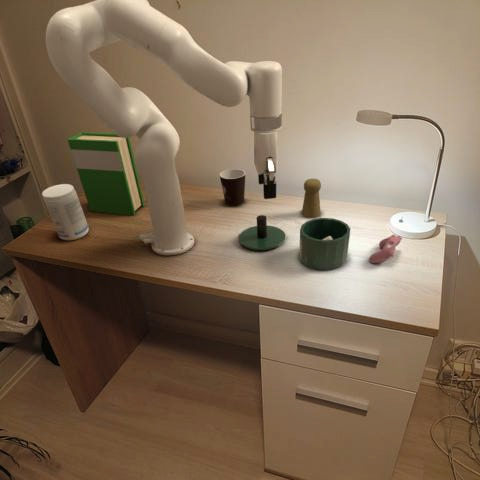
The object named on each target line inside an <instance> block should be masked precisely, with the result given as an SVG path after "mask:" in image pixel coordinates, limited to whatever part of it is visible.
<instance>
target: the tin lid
mask: <svg viewBox="0 0 480 480" xmlns="http://www.w3.org/2000/svg"><path fill="white" fill-rule="evenodd" d="M285 241H286V232H285V231H284V230H283V229H281V228H279V227H277V226H272V225H268V224H267V215H264V214H260V215H257V216H256V225H254V226H250V227H248V228H246V229H244V230H242V232H241V233H239V236H238V242H239V243H240V245H241V246H243V247H244V248H247V249H249V250H254V251H267V250H272V249H275V248H279V247H280V246H281V245H283V244H284V243H285Z"/></svg>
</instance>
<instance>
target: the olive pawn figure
mask: <svg viewBox="0 0 480 480" xmlns="http://www.w3.org/2000/svg"><path fill="white" fill-rule="evenodd" d="M321 188H322V183H321V180H320V179H317V178H307V179H306V180H305V181H304V183H303V190H304V198H303V203H302V208H301V216H302V217H304V218H306V219H317V218H320V216H321V214H322V213H321V201H320V190H321Z"/></svg>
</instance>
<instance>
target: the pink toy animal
mask: <svg viewBox="0 0 480 480" xmlns="http://www.w3.org/2000/svg"><path fill="white" fill-rule="evenodd" d="M402 240H403V237H402V236H400V235H398V234H396V233H394V234H392V235H390V236H388V237H386V238H384V239H382V240H380V241H379V242H378V246H379V247H380V248H381V250H378V251H377V252H375V253H372V254H370V256H369V258H368V259H369V260H368V261H369V262H370V263H373V264H378V263H381V262H384V261H387V260H388V259H389V258H393V257H395V254H396V253H395V251H396V247H398V246H399V244H400V243H401V241H402Z"/></svg>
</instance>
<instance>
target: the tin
mask: <svg viewBox="0 0 480 480" xmlns="http://www.w3.org/2000/svg"><path fill="white" fill-rule="evenodd" d="M350 235H351V227H350V226H349V224H348V223H346V222H344V221H343V220H340V219H337V218H332V217H316V218H311V219H309V220H307V221H305V222H304V223H303V224H301V226H300V229H299V252H298V253H299V254H298V256H299V260H300V262H301V263H302V265H304V266H306V267H307V268H310V269H313V270H317V271H332V270H335V269H339V268H341V267H343V266H344V265H345V264H346V263H347V260H348V253H349V245H350V238H351V237H350ZM328 236H331V237H332V239H333V240H323V239H324V238H326V237H328Z"/></svg>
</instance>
